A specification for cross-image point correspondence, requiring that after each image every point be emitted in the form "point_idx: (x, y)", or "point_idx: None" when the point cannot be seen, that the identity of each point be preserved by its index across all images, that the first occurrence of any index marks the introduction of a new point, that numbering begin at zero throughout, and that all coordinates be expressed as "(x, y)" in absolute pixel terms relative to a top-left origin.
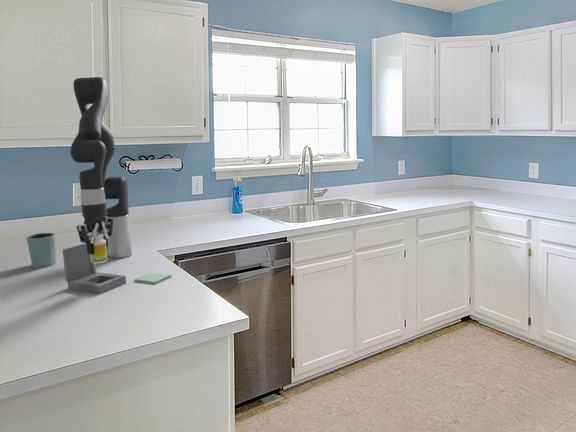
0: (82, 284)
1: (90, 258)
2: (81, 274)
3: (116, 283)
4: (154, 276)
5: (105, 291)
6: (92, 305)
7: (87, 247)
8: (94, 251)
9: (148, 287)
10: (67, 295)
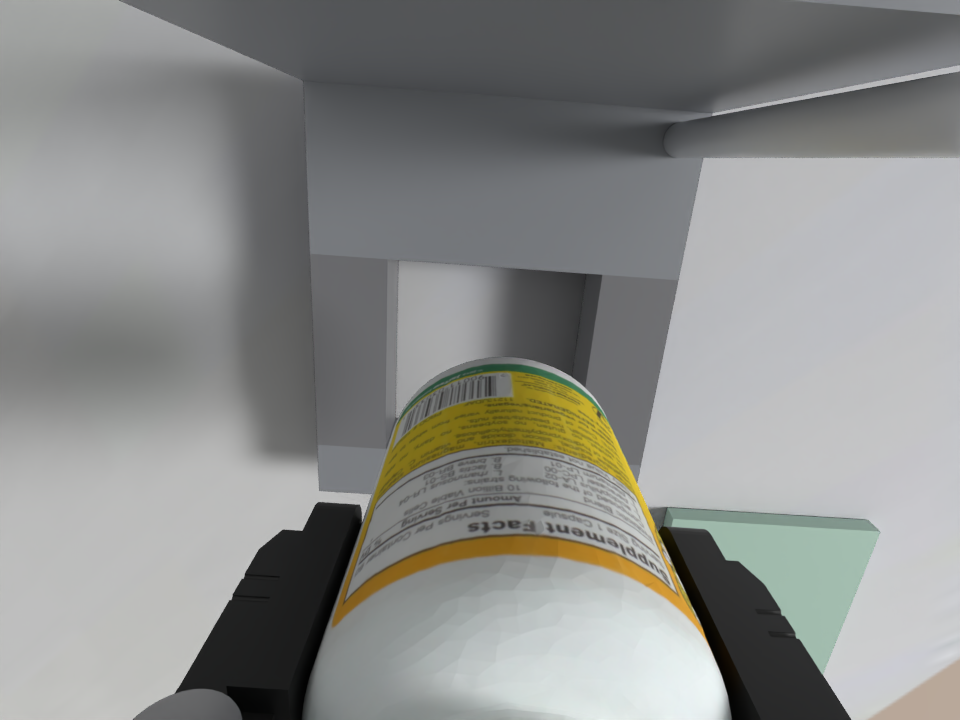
0: (314, 300)
1: (394, 432)
2: (512, 92)
3: None
4: None
5: None
6: (140, 554)
7: (219, 636)
8: None
9: None
10: (193, 234)
